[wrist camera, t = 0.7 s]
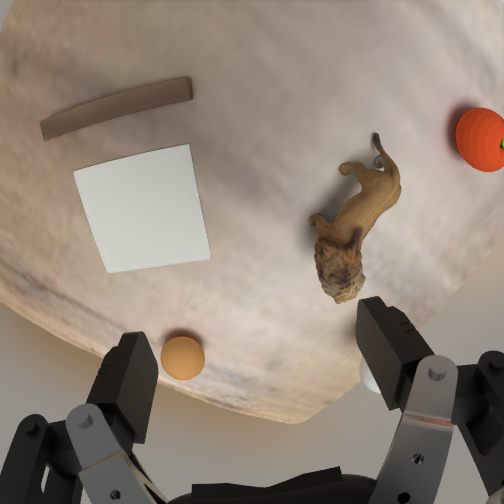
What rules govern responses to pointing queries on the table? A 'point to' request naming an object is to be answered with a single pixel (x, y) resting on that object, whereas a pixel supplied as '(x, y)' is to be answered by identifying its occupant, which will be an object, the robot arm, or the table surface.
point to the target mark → (145, 209)
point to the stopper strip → (117, 106)
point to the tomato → (481, 139)
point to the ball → (182, 358)
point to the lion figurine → (354, 226)
